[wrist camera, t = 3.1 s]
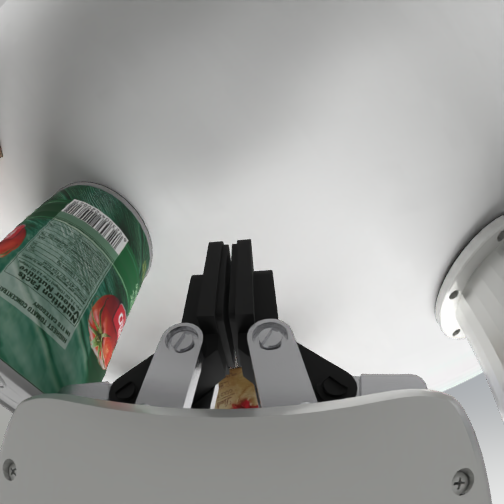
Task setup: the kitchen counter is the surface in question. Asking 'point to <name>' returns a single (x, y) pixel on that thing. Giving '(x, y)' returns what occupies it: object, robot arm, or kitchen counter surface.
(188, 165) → the kitchen counter surface
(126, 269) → the canned tomato
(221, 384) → the chocolate bunny
